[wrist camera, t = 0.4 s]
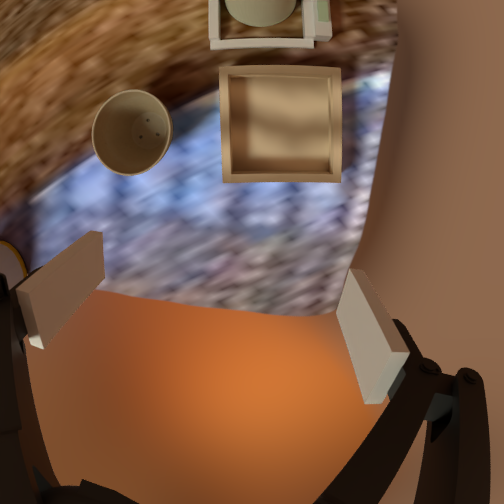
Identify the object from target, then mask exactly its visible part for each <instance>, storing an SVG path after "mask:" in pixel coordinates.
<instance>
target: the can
mask: <svg viewBox="0 0 504 504" xmlns="http://www.w3.org/2000/svg"><path fill="white" fill-rule="evenodd" d="M225 5H226V8H227V10H228V11H229V13H230V14H231V15H232V16H233V17H234V18H235V19H237V20H238V21H240V22H242V23H244V24H247V25H251V26H258V27H264V26H271V25H275V24H277V23H280V22H282V21H283V20H285V19H286V18H287V17H289V16H290V14H291V13H292V12H293V10H294V8H295V5H296V0H225Z"/></svg>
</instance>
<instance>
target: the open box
mask: <svg viewBox="0 0 504 504" xmlns="http://www.w3.org/2000/svg"><path fill="white" fill-rule="evenodd" d="M219 91H220V124H221V152H222V176H223V183H242V182H330V183H341V167H342V88H341V68H335V67H321V66H301V65H247V66H227V67H219Z"/></svg>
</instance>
